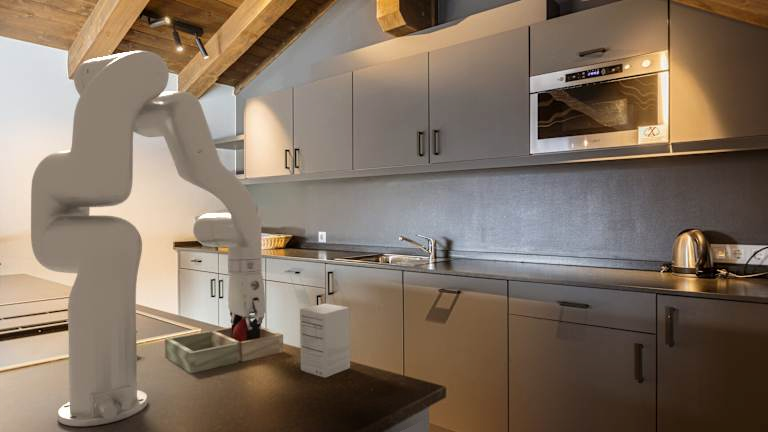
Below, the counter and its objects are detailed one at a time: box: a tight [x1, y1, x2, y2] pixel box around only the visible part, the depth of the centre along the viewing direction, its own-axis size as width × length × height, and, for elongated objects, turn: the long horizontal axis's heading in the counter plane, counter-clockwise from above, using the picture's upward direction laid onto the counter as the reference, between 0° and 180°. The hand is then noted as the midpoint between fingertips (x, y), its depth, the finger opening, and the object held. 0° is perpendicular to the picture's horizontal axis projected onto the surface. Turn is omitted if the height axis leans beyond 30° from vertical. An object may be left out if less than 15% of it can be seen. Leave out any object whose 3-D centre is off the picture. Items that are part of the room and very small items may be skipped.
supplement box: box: [299, 303, 351, 379], centre depth 98 cm, size 7×7×13 cm
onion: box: [233, 317, 253, 342], centre depth 112 cm, size 6×6×8 cm
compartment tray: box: [164, 326, 284, 374], centre depth 109 cm, size 15×21×4 cm
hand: (245, 342), depth 112 cm, fingers open, 6 cm apart
